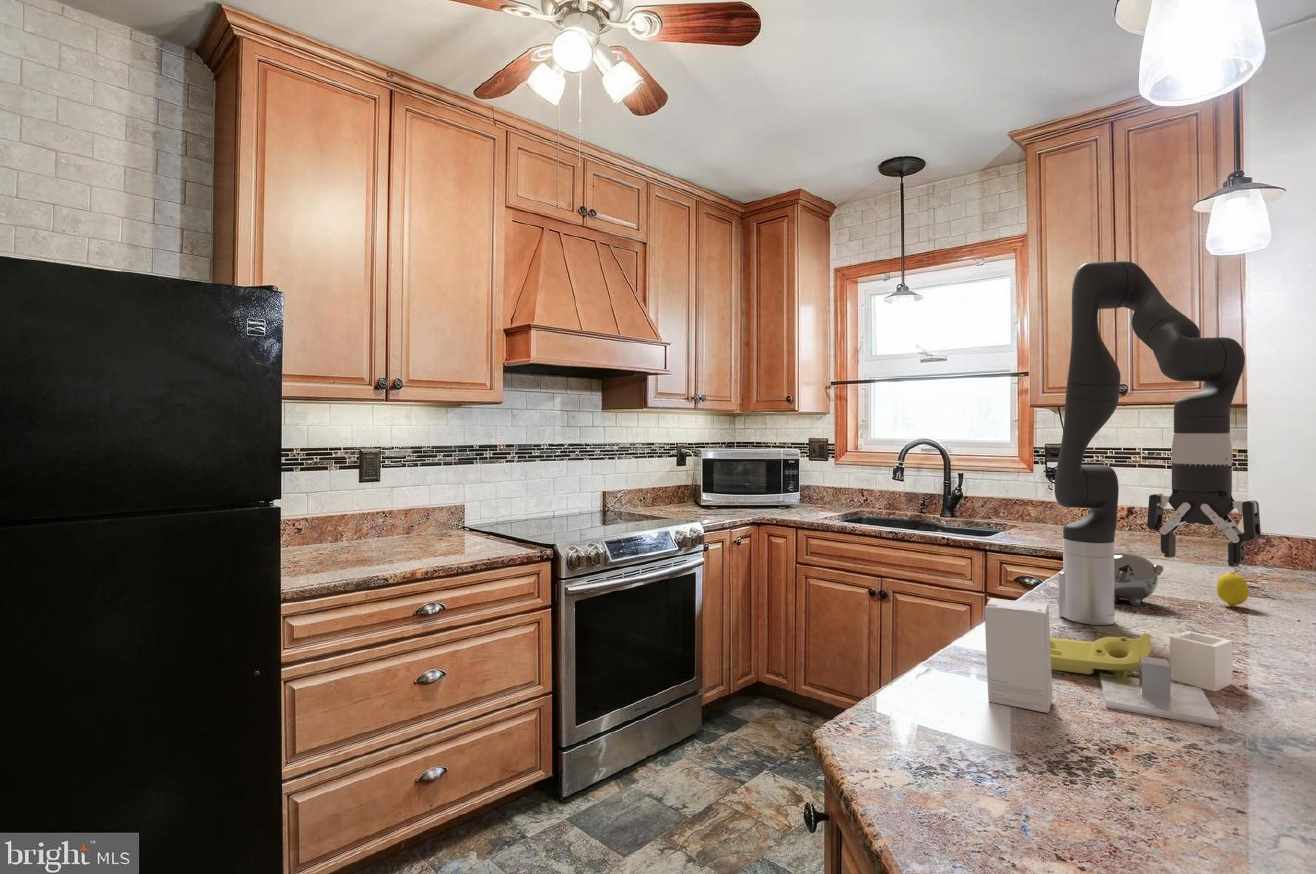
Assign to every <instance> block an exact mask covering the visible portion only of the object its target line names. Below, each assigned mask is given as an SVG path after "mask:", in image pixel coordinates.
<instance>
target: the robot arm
mask: <svg viewBox="0 0 1316 874" xmlns="http://www.w3.org/2000/svg"><path fill="white" fill-rule="evenodd" d="M1120 308H1125V309H1129V310H1131V311H1133V315H1132V317H1131V328H1132V330H1133V332H1134V333H1135V335H1136V337H1137V338H1138V339H1139V340H1141V342H1142V343H1144V344H1145V345H1146V346H1147V347H1148V348H1149V349H1150V350H1152V352H1153V354H1154V357H1155V360H1156V362H1157V363H1158V367H1159V370H1160V372H1161V374H1163V375H1164V376H1165V377H1166V378H1168V379H1171V380H1173V381H1177V382H1184V383H1185V382H1188V383H1189V382H1204V383H1203V386H1202V388H1201V390H1200V392H1198V394H1196V395H1191V396H1185V397H1182V398H1179V399H1178V400H1176V401H1175V403H1174V406H1173V437H1172V439H1173V440H1172V443H1171V444H1172V445H1171V494H1170V495H1164V494H1163V493H1155V494H1150V495H1149V496H1148V510H1147V519H1146V520H1147V522H1146V523H1147V524H1146V527H1147V528H1148V529H1149V530H1153V531H1155V532H1158V533H1159V534H1160V551H1161V554H1164V557H1165V558H1171V559H1173V558H1174V557H1176V549H1177V548H1176V547H1177V545H1176V540H1177V539H1176V534H1174V533H1175V532H1176V531H1178V529H1179V528H1180V527H1181V526H1182V525H1184V524H1185V523H1186V524H1192V525H1193V524H1194V525H1195V524H1201V525H1203V526H1214V525H1215V527H1217V529H1218V530H1219V531H1220V532H1222V533H1223V534H1224V536H1226V537H1227V538H1228V540H1229V541H1230V542H1228V543H1227V554H1228V555H1227V566H1228V567H1231V568H1236V567H1239V566H1240V565H1241V564H1243V563H1244V561H1245V545H1246V544H1245V543H1246V542H1249V541H1255V540H1260V538H1261V536H1262V532H1261V531H1262V530H1261V529H1262V528H1261V519H1260V505H1259V501H1257V500H1247V501H1243V500H1242V501H1241V500H1234V498H1233V494H1232V493H1233V461H1234V455H1233V446H1232V441H1231V440H1232V439H1231V434H1230V432H1231V417H1230V416H1231V406H1232V403H1233V400H1234V396H1235V394H1236V390H1237V388H1238V385H1239V382H1240V379H1241V377H1242V373H1243V371H1244V368H1245V362H1246V357H1245V356H1246V355H1245V352H1244V349H1243V347H1242V346H1241V344H1240V343H1239V342H1238V341H1237V340H1235V339H1234V338H1231V337H1225V336H1224V337H1223V336H1221V337H1201V330H1200V328H1199V327H1198V325H1197V324H1196V323H1195V322H1194V321H1193V320H1191V318H1189V317H1188V316H1186V315H1185V314H1184V313H1182V312H1181V311H1179V310H1178V309H1177V308H1176V307H1174V306H1173V305H1172V304H1170V302H1168V301H1167V300H1166V298H1165V297H1164V296H1163V295H1162V293H1161V292H1160V290H1159V289H1158V288H1157V287H1156V285H1155V283H1153V281H1152V280H1151V278H1150V277H1149V276H1148V275H1147V273H1146V272H1145V271H1144V270H1143V269H1142V267H1140V266H1139V265H1138V264H1136V263H1135V262H1131V261H1125V260H1123V261H1120V260H1119V261H1100V262H1099V261H1097V262H1087V263H1083V264H1082V265H1080V267H1078V269H1077V270H1076V272H1075V274H1074V278H1073V282H1072V288H1071V342H1070V354H1069V364H1068V365H1069V366H1068V373H1067V379H1066V388H1065V400H1064V402H1065V404H1064V420H1063V430H1062V436H1061V441H1060V442H1061V444H1060V450H1059V454H1058V459H1057V465H1056V471H1055V476H1054V486H1053V487H1054V496H1055V499H1056V502H1057V503H1058V505H1060V506H1061V507H1065V508H1073V509H1074V508H1075V509H1076V508H1077V509H1089V512H1088V513H1087V514H1086V515H1085V516H1084V517H1081V519H1078V520H1075V521H1071V522H1069V523H1066V524H1065V525H1064V526H1063V529H1062V536H1063V537H1062V543H1063V544H1062V552H1063V553H1062V554H1063V555H1062V556H1063V557H1062V561H1063V562H1062V565H1063V566H1062V567H1063V568H1062V569H1063V570H1062V571H1060V572H1059V573H1058V617H1061V618H1065V620H1069V621H1072V622H1075V623H1079V624H1086V625H1092V626H1093V625H1094V626H1110V625H1113V624H1114V623H1115V602H1114V553H1115V535H1116V530H1117V525H1118V519H1117V518H1118V506H1119V489H1120V487H1119V479H1118V476H1117V473H1116V471H1115V470H1114V468H1113V467H1111V466H1109V465H1104V464H1102V465H1101V464H1082V463H1083V460H1084V456H1085V452H1086V450H1087V447H1088V445H1089V444H1090V442H1091V441H1092V440H1093V438H1094V437H1095V436H1096V434H1097V433H1098V432H1099V431H1100V430H1101V429H1102V428H1103V426H1104V425H1105V424H1106V423H1107V422H1108V420H1109V419H1111V417H1112V415H1113V414H1114V412H1115V411H1116V408H1117V407H1118V403H1119V397H1120V387H1121V377H1122V376H1121V371H1120V369H1119V366H1118V365H1117V362H1116V361H1115V359H1114V357H1113V356H1112V353H1110V351H1109V349H1108V348H1107V346H1106V345H1105V343H1104V341H1103V338H1102V336H1101V334H1100V331H1099V330H1100V328H1099V321H1098V316H1099V310H1107V309H1109V310H1111V309H1120ZM1168 504H1169V505H1170V506H1171V507H1172V509H1173V510H1174V512H1173V513H1172V515H1170V517H1168V518H1167V519H1166V522H1165V523H1163V521H1164V520H1163V518H1164V509H1166V507H1167V506H1168ZM1234 509H1236V510H1237V512H1238V514H1240V515H1241V516H1242V520H1243V521H1242V522H1243V525H1242V526H1243V532H1242V530H1241V529H1240V528H1239V527H1238V524H1237V523H1236V522H1235V521H1234V519H1233V518H1232V517H1231V516H1230V515H1229V514H1230V513H1231V512H1233V510H1234Z"/></svg>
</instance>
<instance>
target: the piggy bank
mask: <svg viewBox="0 0 1316 874" xmlns="http://www.w3.org/2000/svg"><path fill="white" fill-rule="evenodd" d="M1163 572H1164V566H1162V565H1161V564H1154V563H1153V562H1152V561H1150V560H1149V559H1147V558H1145V557H1144V556H1140V555H1138V554H1134V553H1128V552H1114V603H1117V601H1118V600H1119V599H1124V600H1127V601H1128V602H1129V603H1130V605H1131V606H1134V607H1140V606H1141V602H1143V601H1144V599H1147V598H1149V597H1150V596H1152V595H1153V594H1154V593H1155V591H1156V589H1157V587H1158V585H1159V581H1160V580H1159V577H1160V576H1161V575H1162V573H1163Z"/></svg>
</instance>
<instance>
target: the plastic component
mask: <svg viewBox="0 0 1316 874" xmlns="http://www.w3.org/2000/svg"><path fill="white" fill-rule="evenodd" d="M1151 641H1152V640H1151V633H1148V632H1147V633H1146V632H1144V633H1143V634H1141V635H1140V637H1138V638H1130V637H1129V638H1128V637H1126V636H1120V637H1118V636H1106V637H1101V638H1099V639H1097V640H1095V641H1087V640H1085V641H1084V640H1078V639H1077V640H1075V639H1066V638H1058V637H1056V638H1055V637H1050V651H1051V671H1062V672H1068V673H1075V674H1076V673H1077V674H1082V675H1083V674H1084V675H1092V674H1093V673H1094V670H1101V671H1104V670H1105V671H1109V674H1113V675H1120V676H1126V677H1128V676H1132V675H1133V671H1132V670H1133V669H1135V668H1139V656H1144V657H1150V655H1151V650H1152V642H1151Z"/></svg>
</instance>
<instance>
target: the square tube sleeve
mask: <svg viewBox="0 0 1316 874" xmlns="http://www.w3.org/2000/svg"><path fill="white" fill-rule="evenodd" d="M1169 665H1170V666H1171V680H1173V681H1175V682H1179V683H1183V684H1185V685H1188V686H1192V687H1198V688H1201V689H1204V690H1208V691H1211V692H1218V691H1220V690H1222V689H1224V688H1226V687H1229V686H1231V685H1233V640H1231V639H1226V638H1221V637H1217V636H1212V635H1208V634H1204V633H1199V632H1195V631H1189V630H1186V631H1183V632H1179V633H1177V634H1174V635H1171V636H1169Z"/></svg>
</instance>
